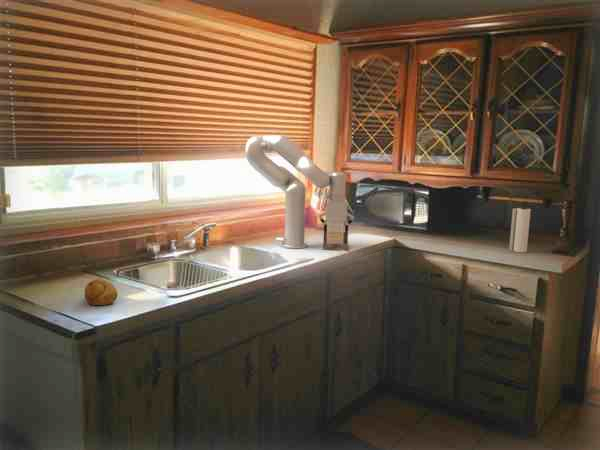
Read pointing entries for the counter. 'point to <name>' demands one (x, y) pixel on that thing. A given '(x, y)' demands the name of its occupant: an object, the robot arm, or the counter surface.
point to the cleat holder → (335, 246)
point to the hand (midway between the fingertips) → (335, 232)
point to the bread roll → (100, 292)
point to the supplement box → (335, 232)
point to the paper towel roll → (519, 230)
